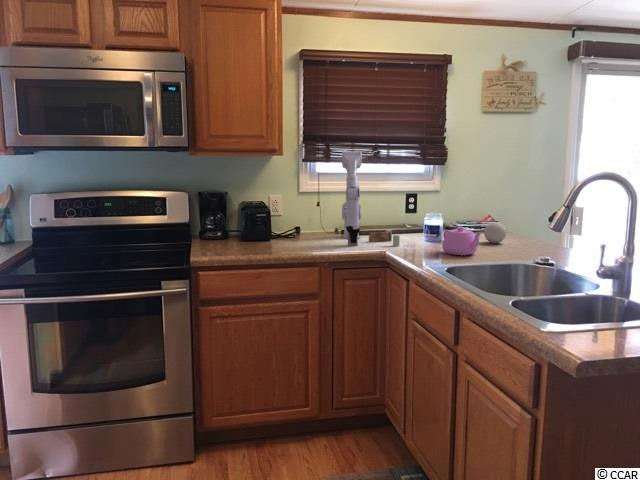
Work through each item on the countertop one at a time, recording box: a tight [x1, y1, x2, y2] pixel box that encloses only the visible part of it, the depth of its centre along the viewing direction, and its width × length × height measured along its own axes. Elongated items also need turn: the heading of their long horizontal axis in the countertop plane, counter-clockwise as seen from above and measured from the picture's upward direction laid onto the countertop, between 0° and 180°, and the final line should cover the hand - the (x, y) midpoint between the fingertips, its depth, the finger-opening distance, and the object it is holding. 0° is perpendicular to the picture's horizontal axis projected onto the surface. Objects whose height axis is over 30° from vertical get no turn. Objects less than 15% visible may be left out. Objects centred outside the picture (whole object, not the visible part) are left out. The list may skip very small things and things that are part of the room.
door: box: [368, 231, 392, 243], centre depth 250 cm, size 11×1×4 cm, turn 100°
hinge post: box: [385, 229, 393, 242], centre depth 253 cm, size 2×2×5 cm
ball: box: [483, 221, 507, 244], centre depth 243 cm, size 10×10×10 cm
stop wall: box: [392, 234, 400, 247], centre depth 239 cm, size 2×2×5 cm
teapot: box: [442, 226, 484, 256], centre depth 219 cm, size 20×13×12 cm, turn 39°
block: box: [347, 232, 359, 247], centre depth 241 cm, size 4×4×6 cm
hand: (352, 242), depth 241 cm, fingers closed on block, 4 cm apart
